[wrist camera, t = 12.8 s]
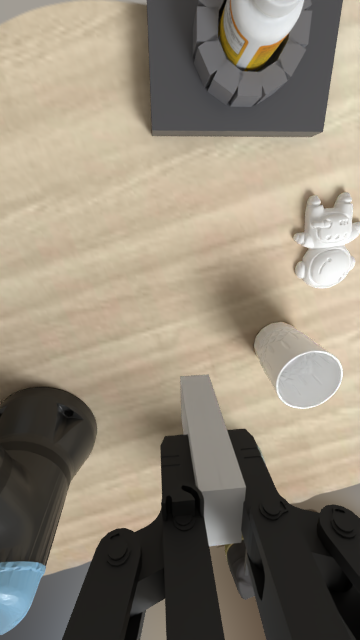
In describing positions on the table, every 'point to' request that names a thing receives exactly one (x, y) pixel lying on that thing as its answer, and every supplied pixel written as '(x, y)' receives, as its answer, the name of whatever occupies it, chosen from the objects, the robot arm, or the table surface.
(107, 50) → the table surface
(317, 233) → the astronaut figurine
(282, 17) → the supplement bottle
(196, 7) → the square plate with collar
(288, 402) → the white cup
